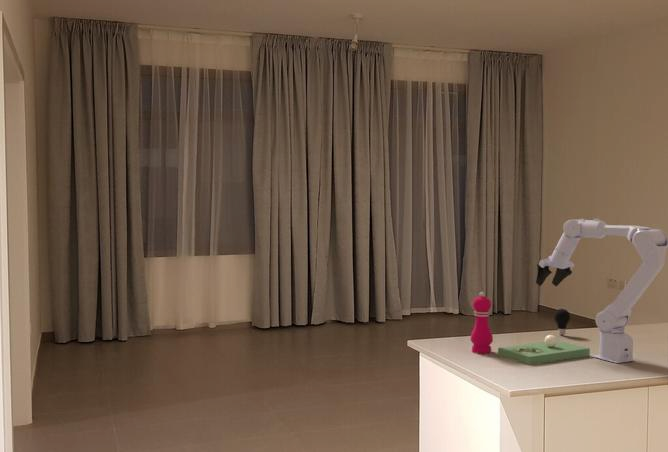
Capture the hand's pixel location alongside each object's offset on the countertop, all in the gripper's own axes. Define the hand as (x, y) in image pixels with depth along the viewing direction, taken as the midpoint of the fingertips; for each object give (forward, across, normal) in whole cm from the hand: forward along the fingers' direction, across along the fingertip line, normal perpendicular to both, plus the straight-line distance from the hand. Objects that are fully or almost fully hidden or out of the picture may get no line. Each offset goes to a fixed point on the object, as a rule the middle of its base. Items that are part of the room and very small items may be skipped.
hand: (546, 284), depth 230 cm
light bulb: (+22, -20, +1) cm, 30 cm away
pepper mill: (+22, +24, +8) cm, 34 cm away
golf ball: (+10, +8, +18) cm, 22 cm away
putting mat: (+14, +10, +20) cm, 27 cm away
